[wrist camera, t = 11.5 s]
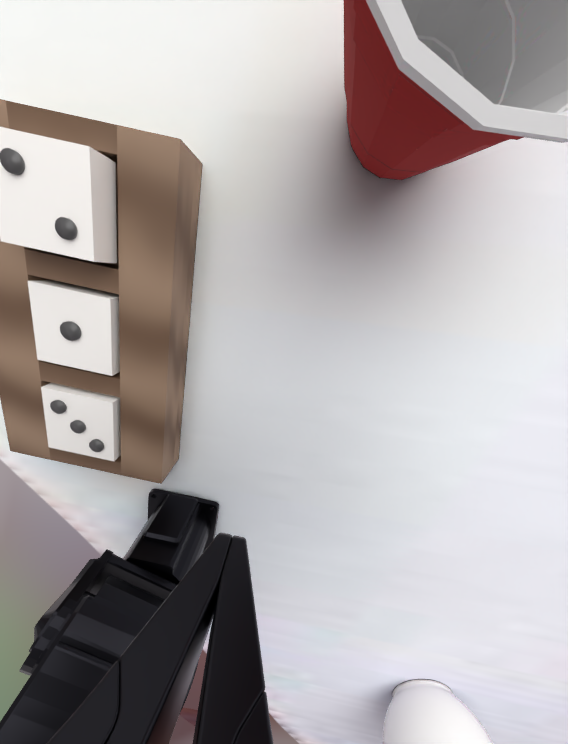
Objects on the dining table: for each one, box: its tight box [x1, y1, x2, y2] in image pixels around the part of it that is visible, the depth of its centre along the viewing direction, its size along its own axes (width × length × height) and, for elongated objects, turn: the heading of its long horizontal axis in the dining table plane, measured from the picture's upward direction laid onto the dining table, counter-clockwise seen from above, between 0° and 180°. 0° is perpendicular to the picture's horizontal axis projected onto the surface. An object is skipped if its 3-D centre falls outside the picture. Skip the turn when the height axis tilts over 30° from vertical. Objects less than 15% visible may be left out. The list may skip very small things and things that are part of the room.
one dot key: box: [28, 280, 120, 376], centre depth 17 cm, size 5×5×2 cm
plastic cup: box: [344, 0, 568, 180], centre depth 9 cm, size 11×11×12 cm
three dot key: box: [41, 383, 121, 461], centre depth 20 cm, size 5×5×2 cm
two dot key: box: [0, 127, 117, 263], centre depth 14 cm, size 5×5×2 cm
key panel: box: [0, 99, 202, 484], centre depth 18 cm, size 22×12×3 cm, turn 168°
